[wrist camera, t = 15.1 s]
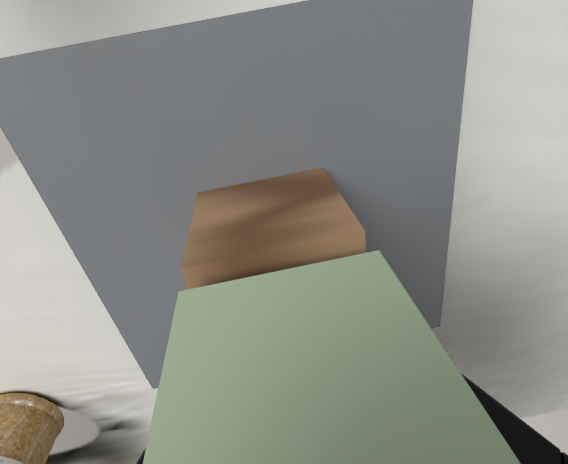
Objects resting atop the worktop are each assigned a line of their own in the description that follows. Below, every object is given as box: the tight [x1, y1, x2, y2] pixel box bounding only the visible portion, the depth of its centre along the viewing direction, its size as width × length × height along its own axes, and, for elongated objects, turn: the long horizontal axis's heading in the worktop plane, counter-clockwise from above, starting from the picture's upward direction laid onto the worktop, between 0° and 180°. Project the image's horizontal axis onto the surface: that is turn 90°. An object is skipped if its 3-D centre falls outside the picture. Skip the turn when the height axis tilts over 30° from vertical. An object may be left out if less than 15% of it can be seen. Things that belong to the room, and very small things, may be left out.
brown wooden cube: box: [181, 168, 366, 289], centre depth 13 cm, size 5×5×5 cm
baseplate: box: [0, 0, 473, 389], centre depth 15 cm, size 16×16×1 cm
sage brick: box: [143, 250, 521, 464], centre depth 8 cm, size 5×5×5 cm
